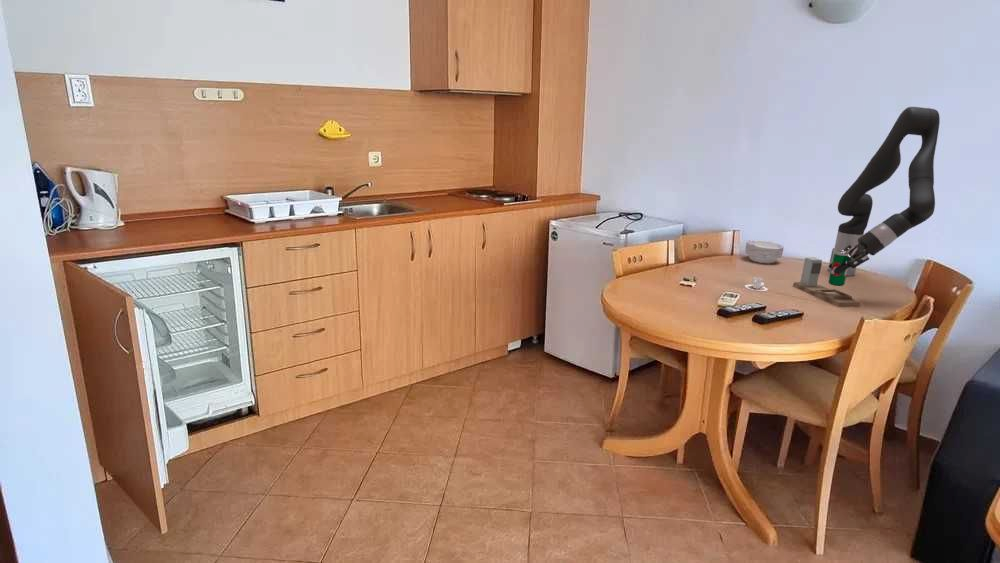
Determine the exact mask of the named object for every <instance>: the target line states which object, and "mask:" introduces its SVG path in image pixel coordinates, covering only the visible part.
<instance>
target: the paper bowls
mask: <svg viewBox="0 0 1000 563" xmlns="http://www.w3.org/2000/svg"><path fill="white" fill-rule="evenodd" d="M744 251H745V254H747V255H748V257H749V259H750V260H751V261H752V262H755V263H758V264H759V263H760V264H774V263H776V261H777V259H781V258H782V257H783V252H784V245H782V244H780V243H778V242H774V241H767V240H762V239H761V240H760V239H759V240H758V239H751V240H747V241H746V244H745V249H744Z"/></svg>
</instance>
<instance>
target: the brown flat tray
mask: <svg viewBox="0 0 1000 563" xmlns="http://www.w3.org/2000/svg"><path fill="white" fill-rule="evenodd" d="M800 282H801V281H797V282H796V281H794V282H793V285H792V286H793V287H794V288H797V289H798V290H801V291H803V292H806V293H807V294H809V295H812V296H814V297H816V298H819V299H821V300H823V301H826V302H828V303H829V304H831V305H834V306H837V307H839V308H846V307H847V308H848V307H849V308H850V307H860V305H861V302H860V301H859V300H856V299H853V296H852V295H850V294H848V293H845V292H842V291H840V290H837V289H835V288H833V289H832V288H831V289H830V288H828V287H825V286H822V285H820V284H818V283H817V286H806V285H804V284H801V283H800Z"/></svg>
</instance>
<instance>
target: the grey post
mask: <svg viewBox="0 0 1000 563" xmlns="http://www.w3.org/2000/svg"><path fill="white" fill-rule="evenodd" d="M822 261H823V260H822V259H820V258H817V257H815V256H814V257H812V256H810V257H807V256H806V257H804V261H803V262H804V263H803V267H802V272H801V276H800V277H801V278H800V281H799V282H800V283H801V284H804V285H806V286H817V284H818V282H819V277H820V273H821V269H822V265H823V263H822Z"/></svg>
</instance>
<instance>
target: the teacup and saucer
mask: <svg viewBox="0 0 1000 563" xmlns="http://www.w3.org/2000/svg"><path fill="white" fill-rule="evenodd" d="M750 287H752V288H753V289H752V288H750ZM744 288H746V289H748V290H750V291H754V292H766V291H768V288H767V287H765V283H764V282H763V278H761V277H753V279H752V284H745V285H744ZM761 288H762V289H761Z"/></svg>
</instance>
